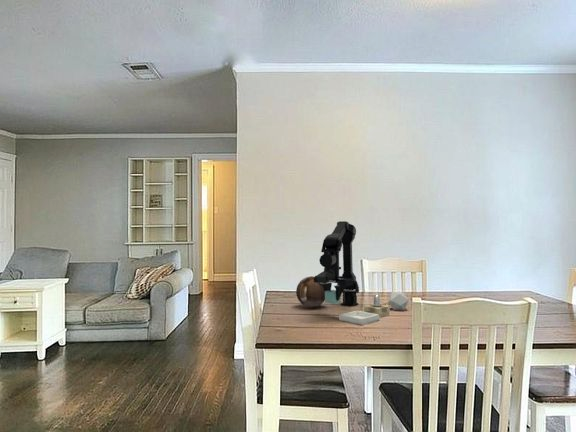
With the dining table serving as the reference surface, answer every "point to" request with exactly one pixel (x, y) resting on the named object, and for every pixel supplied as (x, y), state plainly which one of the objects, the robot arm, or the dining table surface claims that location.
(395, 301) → the die
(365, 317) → the tray
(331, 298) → the block
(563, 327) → the dining table surface
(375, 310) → the hollow square frame
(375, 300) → the rod
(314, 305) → the wooden sphere
